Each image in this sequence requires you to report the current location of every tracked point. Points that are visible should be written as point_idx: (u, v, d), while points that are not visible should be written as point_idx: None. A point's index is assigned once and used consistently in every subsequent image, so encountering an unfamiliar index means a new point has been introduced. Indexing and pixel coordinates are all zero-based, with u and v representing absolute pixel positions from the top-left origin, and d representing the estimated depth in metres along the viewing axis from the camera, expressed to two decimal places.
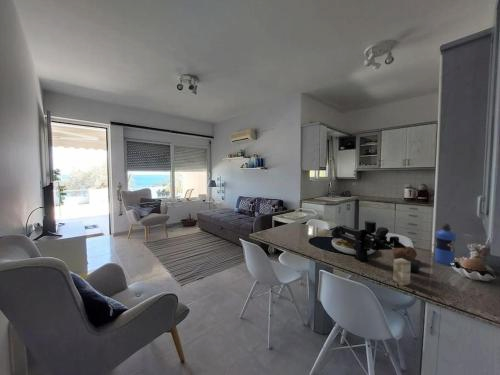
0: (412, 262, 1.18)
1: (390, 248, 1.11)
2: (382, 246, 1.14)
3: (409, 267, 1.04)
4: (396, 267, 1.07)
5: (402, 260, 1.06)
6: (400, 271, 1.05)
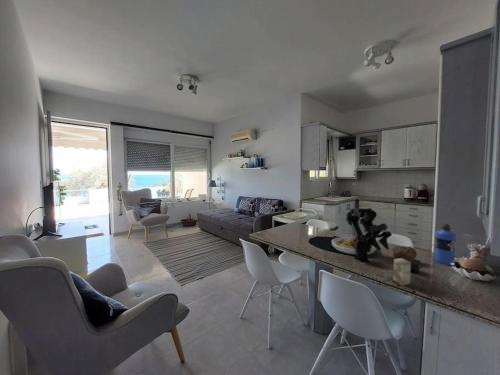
0: (412, 262, 1.18)
1: (379, 249, 1.16)
2: (373, 243, 1.19)
3: (409, 267, 1.04)
4: (396, 267, 1.07)
5: (402, 260, 1.06)
6: (400, 271, 1.05)
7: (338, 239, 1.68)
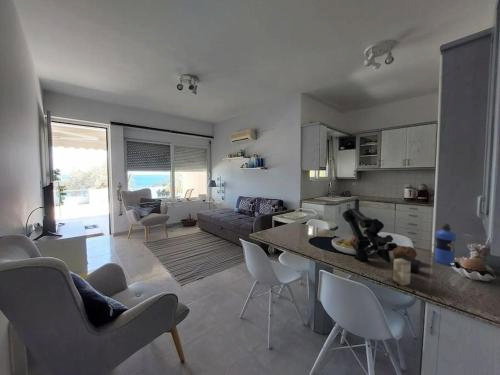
0: (412, 262, 1.18)
1: (388, 261, 1.13)
2: (382, 255, 1.16)
3: (409, 267, 1.04)
4: (396, 267, 1.07)
5: (402, 260, 1.06)
6: (400, 271, 1.05)
7: (338, 239, 1.68)
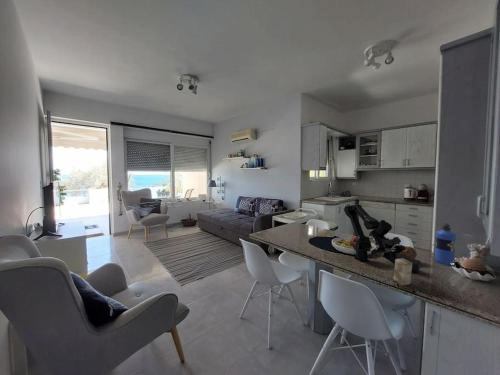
0: (412, 262, 1.18)
1: None
2: (390, 257, 1.11)
3: (410, 268, 1.04)
4: (397, 267, 1.06)
5: (404, 260, 1.05)
6: (401, 271, 1.04)
7: (338, 239, 1.68)
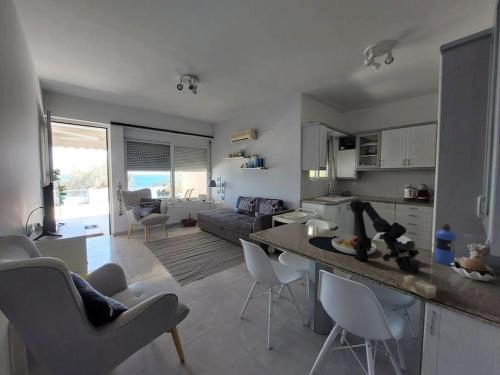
0: (412, 262, 1.18)
1: (410, 270, 1.02)
2: (403, 263, 1.04)
3: None
4: (419, 287, 0.96)
5: (432, 292, 0.93)
6: (416, 290, 0.97)
7: (338, 239, 1.68)
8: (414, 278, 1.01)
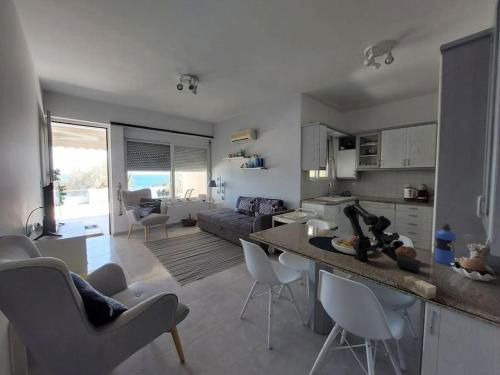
0: (412, 262, 1.18)
1: (395, 260, 1.10)
2: (388, 253, 1.12)
3: None
4: (418, 287, 0.96)
5: (432, 292, 0.93)
6: (416, 290, 0.97)
7: (338, 239, 1.68)
8: (414, 278, 1.01)
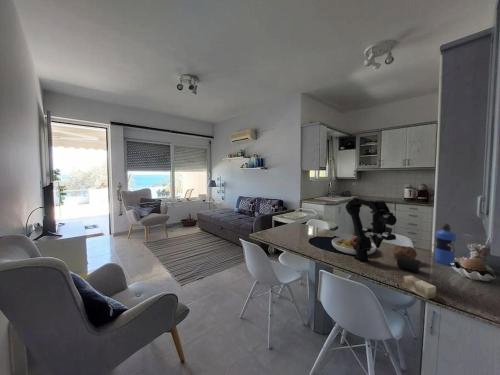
0: (412, 262, 1.18)
1: (378, 247, 1.21)
2: (379, 240, 1.20)
3: None
4: (418, 287, 0.96)
5: (432, 292, 0.93)
6: (416, 290, 0.97)
7: (338, 239, 1.68)
8: (414, 278, 1.01)
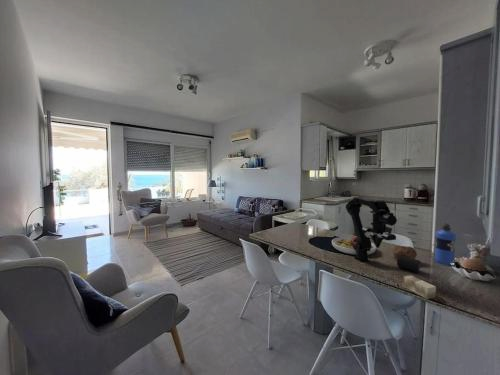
0: (412, 262, 1.18)
1: (378, 247, 1.21)
2: (379, 240, 1.20)
3: None
4: (418, 287, 0.96)
5: (432, 292, 0.93)
6: (416, 290, 0.97)
7: (338, 239, 1.68)
8: (414, 278, 1.01)
